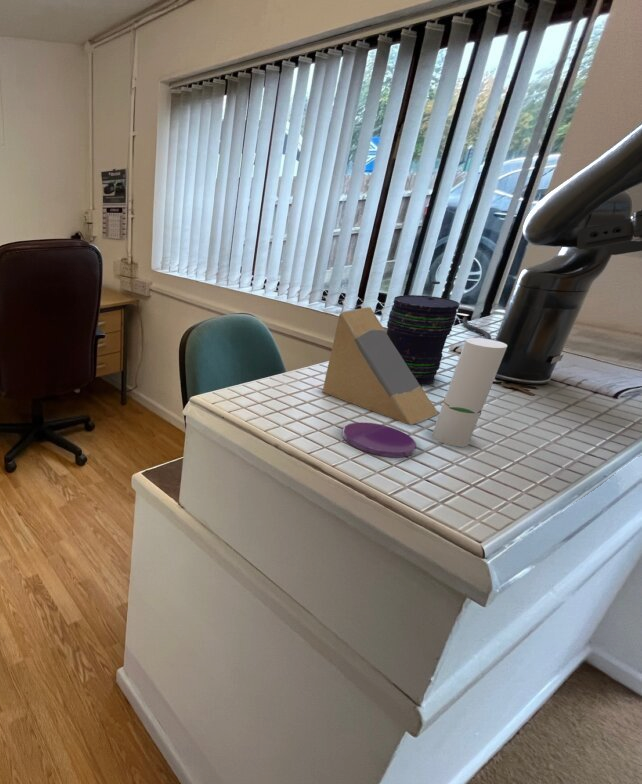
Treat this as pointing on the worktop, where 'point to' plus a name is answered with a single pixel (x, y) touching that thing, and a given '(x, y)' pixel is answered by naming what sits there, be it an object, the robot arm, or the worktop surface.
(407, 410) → the sandwich container
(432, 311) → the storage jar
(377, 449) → the purple disc
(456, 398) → the tube
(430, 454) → the worktop surface
